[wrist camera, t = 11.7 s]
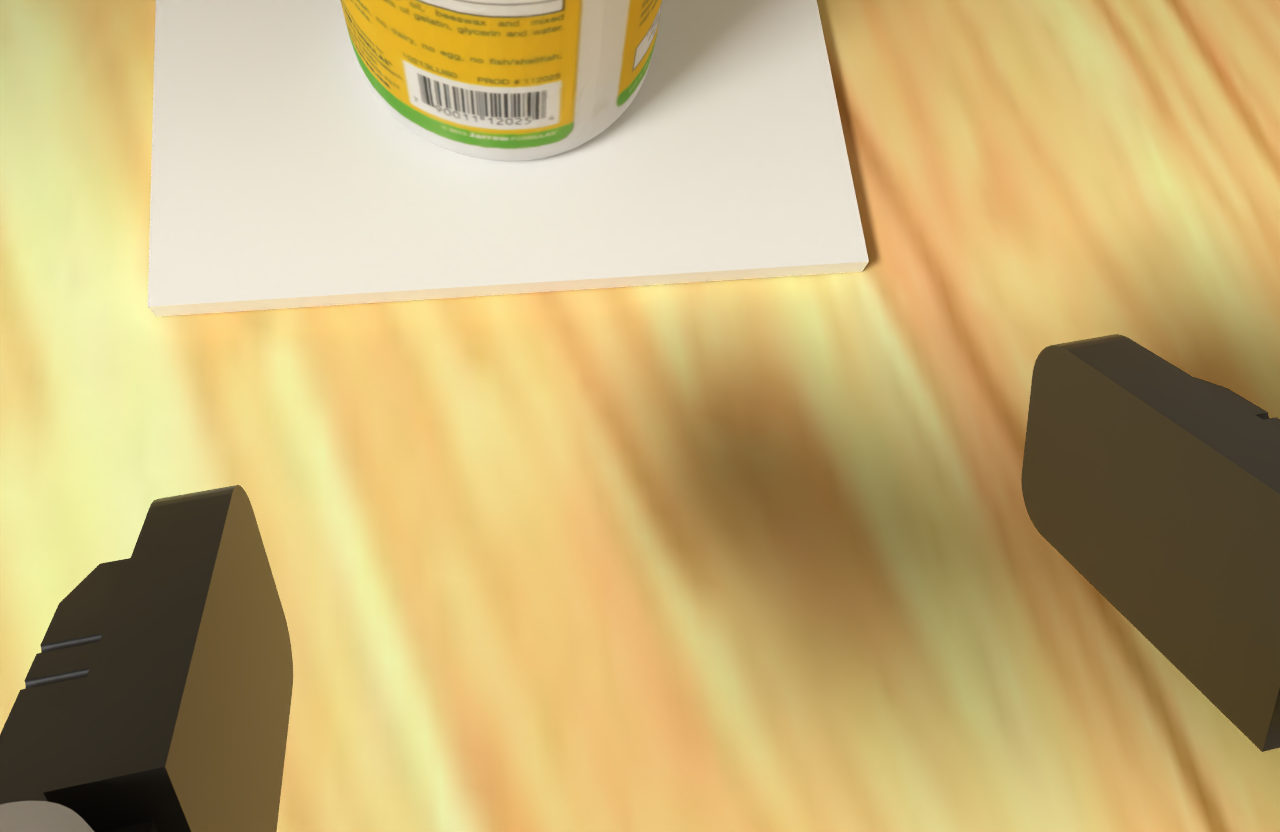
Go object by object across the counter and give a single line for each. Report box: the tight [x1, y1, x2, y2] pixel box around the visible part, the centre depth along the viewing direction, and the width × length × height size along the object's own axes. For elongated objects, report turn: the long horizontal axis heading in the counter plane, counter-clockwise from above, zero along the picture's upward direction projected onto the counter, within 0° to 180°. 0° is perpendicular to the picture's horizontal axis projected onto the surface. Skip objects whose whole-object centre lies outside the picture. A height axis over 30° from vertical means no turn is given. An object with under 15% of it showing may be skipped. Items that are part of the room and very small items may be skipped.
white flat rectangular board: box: [148, 0, 869, 317], centre depth 19 cm, size 12×10×1 cm
